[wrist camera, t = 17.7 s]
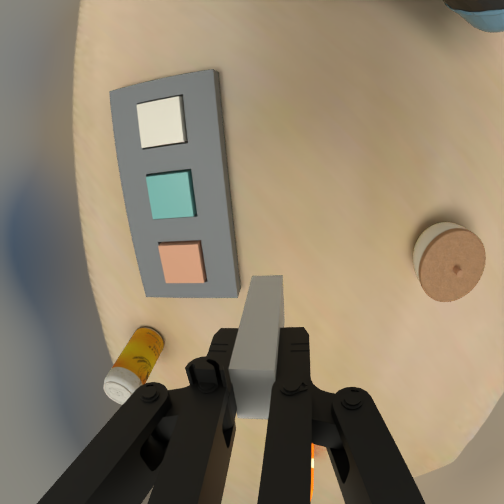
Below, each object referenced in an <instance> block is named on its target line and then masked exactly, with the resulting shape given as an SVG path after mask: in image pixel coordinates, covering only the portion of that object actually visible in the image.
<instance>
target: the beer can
mask: <svg viewBox="0 0 504 504" xmlns="http://www.w3.org/2000/svg"><path fill="white" fill-rule="evenodd" d="M163 347H164V343H163V340H162V338H161V336H160V334H159V333H158V332H157V331H155V330H153V329H151V328H139V329H137V330H136V331H135V333H134V334H133V336H132V337H131V339H130V340H129V342H128V343H127V345H126V347H125V348H124V350H123V351H122V353H121V354H120V356H119V357H118V359H117V360H116V362H115V364H114V365H113V367H112V368H111V370H110V371H109V373H108V375H107V376H106V378H105V380H104V391H105V393H106V394H107V396H108V397H109V398H111V399H112V400H113V401H115V402H117V403H119V404H122V405H123V404H124V403H125V402H126V400H127V399H128V398H129V397H130V396H131V395H132V393H133V392H134V391H135V390H136V389H137V388H138V387H140V386H141V385H143V384H145V383H146V381H147V379H148V377H149V375H150V373H151V371H152V369H153V367H154V365H155V363H156V361H157V359H158V357H159V355H160V353H161V352H162V350H163Z"/></svg>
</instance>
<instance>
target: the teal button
mask: <svg viewBox="0 0 504 504" xmlns="http://www.w3.org/2000/svg"><path fill="white" fill-rule="evenodd" d="M146 181H147V188H148V194H149V200H150V205H151V211H152V217H153V219H164V218H178V217H193V216H194V215H195V214H196V213H197V209H196V202H195V194H194V187H193V179H192V171H191V169H184V170H175V171H167V172H159V173H154V174H151V175H149V176H147V177H146Z"/></svg>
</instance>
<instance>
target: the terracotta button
mask: <svg viewBox="0 0 504 504" xmlns="http://www.w3.org/2000/svg"><path fill="white" fill-rule="evenodd" d="M158 248H159V253H160V258H161V263H162V267H163V272H164V276H165V281H166V283H204V282H205V280H206V278H207V275H206V269H205V263H204V256H203V250H202V243H201V240H191V241H169V242H161V243H160V245H159V246H158Z"/></svg>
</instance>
